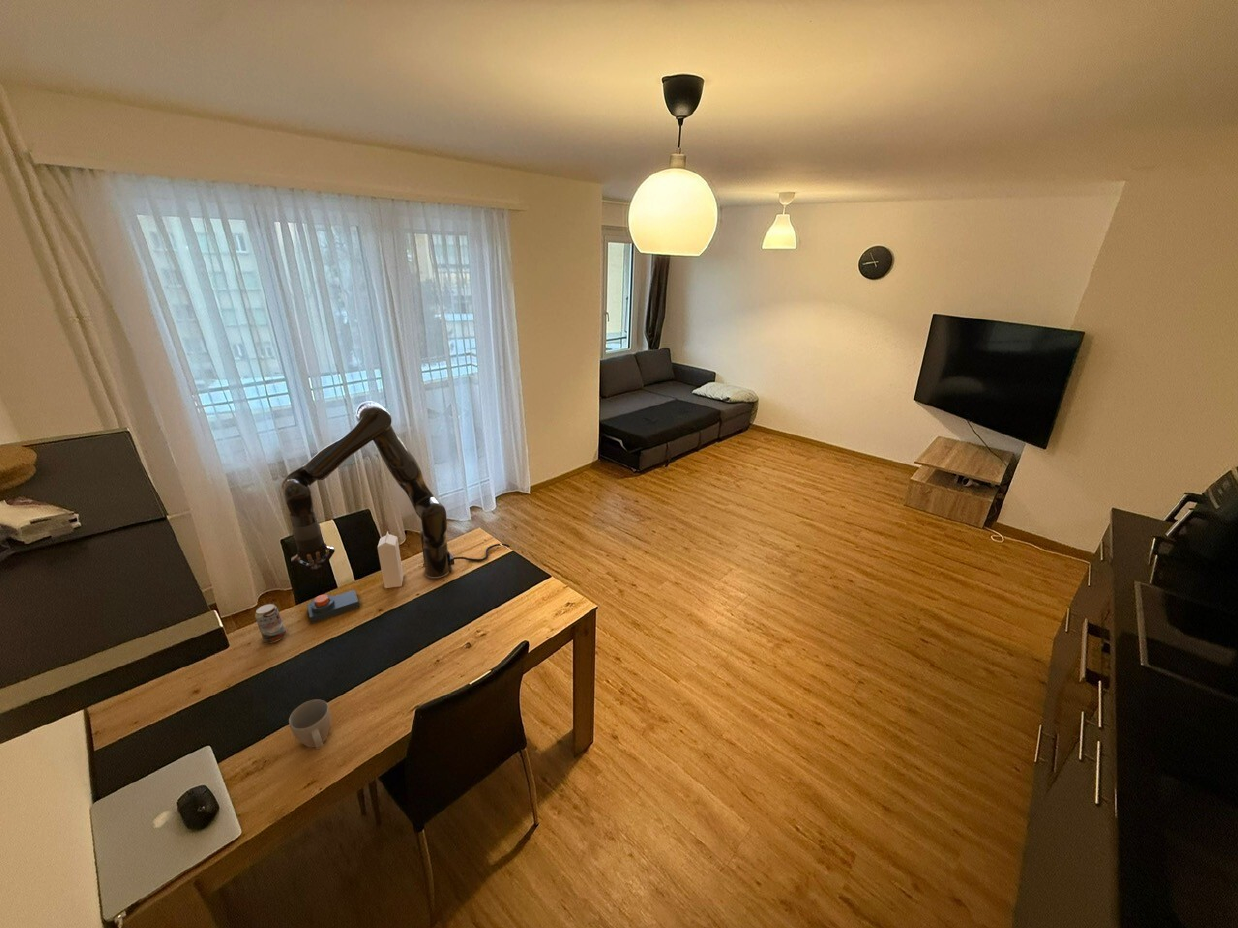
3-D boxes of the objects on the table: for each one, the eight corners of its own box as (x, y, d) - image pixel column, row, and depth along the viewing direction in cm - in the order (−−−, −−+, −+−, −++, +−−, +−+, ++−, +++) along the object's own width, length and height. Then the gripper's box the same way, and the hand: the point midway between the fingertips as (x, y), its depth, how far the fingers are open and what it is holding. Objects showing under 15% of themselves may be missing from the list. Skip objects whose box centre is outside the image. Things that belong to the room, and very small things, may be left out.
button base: (355, 595, 178) (353, 585, 176) (359, 607, 173) (357, 597, 171) (308, 610, 170) (305, 600, 168) (311, 623, 164) (308, 613, 162)
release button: (327, 597, 170) (326, 593, 170) (329, 604, 168) (328, 599, 167) (314, 601, 168) (313, 597, 167) (316, 608, 165) (315, 603, 164)
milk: (384, 588, 183) (375, 540, 173) (387, 578, 188) (378, 531, 178) (401, 586, 184) (393, 538, 175) (404, 576, 189) (396, 529, 180)
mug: (293, 735, 128) (285, 711, 124) (330, 716, 134) (323, 692, 130) (303, 770, 121) (295, 745, 117) (342, 748, 126) (335, 724, 122)
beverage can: (269, 648, 154) (260, 619, 149) (258, 638, 157) (248, 609, 152) (290, 636, 159) (282, 608, 154) (279, 626, 162) (270, 599, 157)
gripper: (284, 545, 150) (297, 588, 157) (332, 532, 157) (342, 575, 165) (282, 533, 155) (294, 576, 163) (328, 522, 163) (338, 563, 170)
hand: (318, 575), depth 164 cm, fingers closed
